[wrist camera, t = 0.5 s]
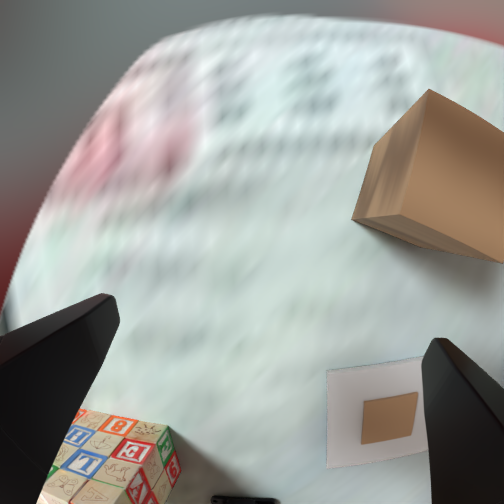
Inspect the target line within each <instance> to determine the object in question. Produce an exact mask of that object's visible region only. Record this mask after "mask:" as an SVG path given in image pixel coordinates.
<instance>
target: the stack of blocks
mask: <svg viewBox="0 0 504 504" xmlns="http://www.w3.org/2000/svg"><path fill="white" fill-rule="evenodd" d="M180 473H181V468H180V465H179V461H178V458H177V455H176V451H175V449H174V446H173V442H172V439H171V435H170V431H169V427H168V425H163V424H156V423H149V422H143V421H139V420H135V419H129V418H124V417H119V416H114V415H109V414H105V413H100V412H96V411H92V410H88V411H87V410H83V409H79V410H78V412H77V414H76V416H75V418H74V420H73V422H72V424H71V427H70V429H69V431H68V433H67V435H66V437H65V439H64V441H63V443H62V445H61V447H60V450H59V452H58V454H57V456H56V458H55V461H54V463H53V465H52V467H51V470H50V472H49V474H48V477H47V479H46V482H45V484H44V486H43V489H42V491H41V493H40V496H39V498H38V501H37V503H36V504H165V502H166V500H167V498H168V496H169V494H170V492H171V489H172V488H173V487H174V485H175V483H176V481H177V479H178V477H179V475H180Z"/></svg>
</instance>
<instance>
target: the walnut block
mask: <svg viewBox="0 0 504 504" xmlns="http://www.w3.org/2000/svg"><path fill="white" fill-rule="evenodd" d="M351 220H354V221H357V222H359V223H362V224H364V225H367V226H369V227H372V228H375V229H377V230H380V231H382V232H385V233H387V234H390V235H392V236H395V237H397V238H399V239H402V240H404V241H407V242H409V243H411V244H414V245H416V246H419V247H422V248H427V249H433V250H438V251H443V252H448V253H453V254H458V255H464V256H469V257H473V258H478V259H483V260H488V261H493V262H498V263H502V264H503V261H504V132H502V131H501V130H499V129H498V128H496V127H495V126H493V125H492V124H490V123H489V122H487V121H485V120H484V119H482V118H481V117H479V116H477V115H476V114H474V113H473V112H471V111H469V110H467V109H466V108H464V107H462V106H461V105H459V104H457V103H455V102H453V101H452V100H450V99H448V98H446V97H444V96H442V95H440V94H438V93H436V92H434V91H432V90H430V89H428V90H427V91H426V92H425V93H424V94H423V95H422V96H421V97H420V98H419V100H418V101H417V102H416V103H415V104H414V105H413V106H412V107H411V108H410V109H409V110H408V111H407V112H406V113H405V114H404V115H403V116H402V117H401V118H400V119H399V120H398V121H397V122H396V123H395V124H394V125H393V126H392V128H391V129H390V130H389V131H388V132H387V133H386V134H385V135H384V136H383V137H382V138H381V139H380V140H379V141H378V142H377V143H376V144H375V145H374V147H373V150H372V154H371V158H370V161H369V164H368V168H367V171H366V175H365V178H364V181H363V184H362V188H361V191H360V194H359V197H358V200H357V204H356V207H355V210H354V213H353V216H352V219H351Z"/></svg>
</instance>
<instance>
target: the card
mask: <svg viewBox="0 0 504 504" xmlns="http://www.w3.org/2000/svg"><path fill="white" fill-rule="evenodd" d="M423 357H424V356H421V357H416V358H411V359H405V360H400V361H394V362H388V363H381V364H375V365H368V366H360V367H353V368H344V369H336V370H327V458H326V467H327V469H328V468H338V467H346V466H353V465H360V464H367V463H373V462H378V461H384V460H389V459H394V458H399V457H403V456H407V455H412V454H416V453H420V452H424V451H427V450H428V441H427V433H426V425H425V417H424V405H423V386H422V372H421V363H422V359H423Z"/></svg>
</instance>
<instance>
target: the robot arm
mask: <svg viewBox="0 0 504 504" xmlns="http://www.w3.org/2000/svg"><path fill="white" fill-rule="evenodd" d="M119 324H120V317H119V312H118V308H117V303H116V299H115V297H114V296H112V295H109V294H104V293H101V294H98V295H96V296H93V297H91V298H88V299H86V300H84V301H81V302H79V303H76V304H74V305H72V306H69V307H67V308H65V309H62V310H60V311H58V312H55V313H53V314H50V315H48V316H46V317H43V318H41V319H39V320H36V321H34V322H32V323H30V324H27V325H25V326H23V327H20V328H18V329H16V330H13V331H11V332H9V333H7V334H5V335H2V336H0V504H36V503H37V501H38V498H39V496H40V493H41V491H42V489H43V486H44V484H45V482H46V479H47V477H48V474H49V472H50V470H51V467H52V465H53V463H54V461H55V458H56V456H57V454H58V452H59V450H60V447H61V445H62V443H63V441H64V439H65V437H66V435H67V433H68V431H69V429H70V427H71V424H72V422H73V420H74V418H75V416H76V414H77V412H78V410H79V408H80V406H81V405H82V403H83V401H84V399H85V397H86V395H87V393H88V391H89V389H90V387H91V385H92V383H93V382H94V380H95V378H96V376H97V374H98V372H99V370H100V368H101V366H102V364H103V362H104V360H105V357H106V355H107V352H108V350H109V348H110V345H111V343H112V341H113V338H114V336H115V334H116V331H117V329H118V327H119ZM421 372H422V386H423V405H424V417H425V425H426V433H427V441H428V451H429V462H430V476H431V496H432V504H504V389H503V388H502V387H501V386H500V385H499V384H498V383H497V382H496V381H495V380H494V379H493V378H492V377H490V376H489V375H488V374H487V373H486V372H485V371H484V370H483V369H482V368H480V367H479V366H478V365H477V364H476V363H475V362H474V361H473V360H471V359H470V358H469V357H468V356H467V355H466V354H465V353H463V352H462V351H461V350H460V349H459V348H458V347H457V346H455V345H454V344H453V343H452V342H451V341H450V340H448V339H447V338H434V339H433V340H432V341H431V343H430V345H429V347H428V349H427V351H426V353H425V355H424V357H423V359H422V363H421ZM211 503H212V504H276V500H274V499H261V498H235V497H222V496H212V498H211Z"/></svg>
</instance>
